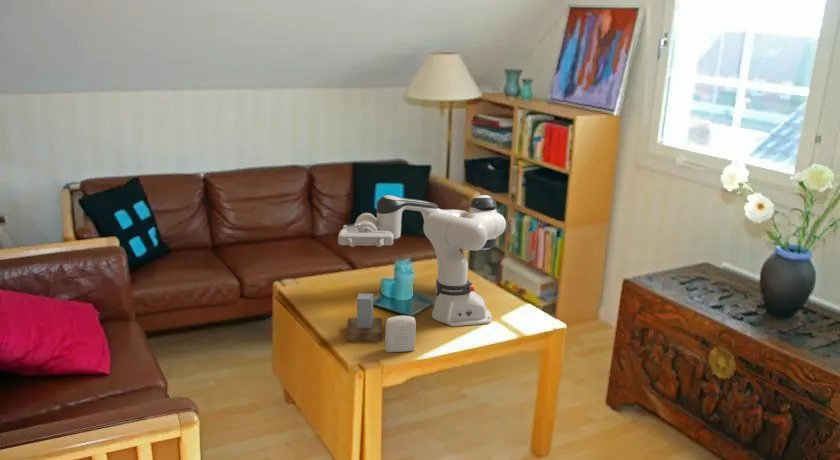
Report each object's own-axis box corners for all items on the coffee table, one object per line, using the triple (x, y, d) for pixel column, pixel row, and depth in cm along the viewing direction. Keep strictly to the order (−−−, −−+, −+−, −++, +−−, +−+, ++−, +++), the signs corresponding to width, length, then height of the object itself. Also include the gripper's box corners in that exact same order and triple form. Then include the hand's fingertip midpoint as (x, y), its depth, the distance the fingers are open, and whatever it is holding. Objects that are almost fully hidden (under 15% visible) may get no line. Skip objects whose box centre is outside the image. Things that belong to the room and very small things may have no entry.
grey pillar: (373, 322, 257) (372, 293, 254) (371, 328, 252) (371, 299, 249) (358, 322, 257) (358, 293, 254) (357, 328, 253) (356, 298, 249)
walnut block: (381, 328, 263) (381, 318, 261) (381, 343, 251) (382, 332, 250) (348, 328, 262) (348, 317, 261) (347, 342, 250) (347, 332, 249)
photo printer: (413, 346, 249) (414, 312, 245) (416, 351, 245) (417, 317, 241) (383, 348, 246) (384, 314, 243) (386, 353, 242) (386, 319, 239)
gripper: (393, 241, 276) (394, 253, 263) (339, 241, 275) (337, 253, 262) (393, 225, 274) (394, 236, 261) (339, 225, 273) (337, 236, 260)
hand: (365, 245), depth 261 cm, fingers open, 8 cm apart
